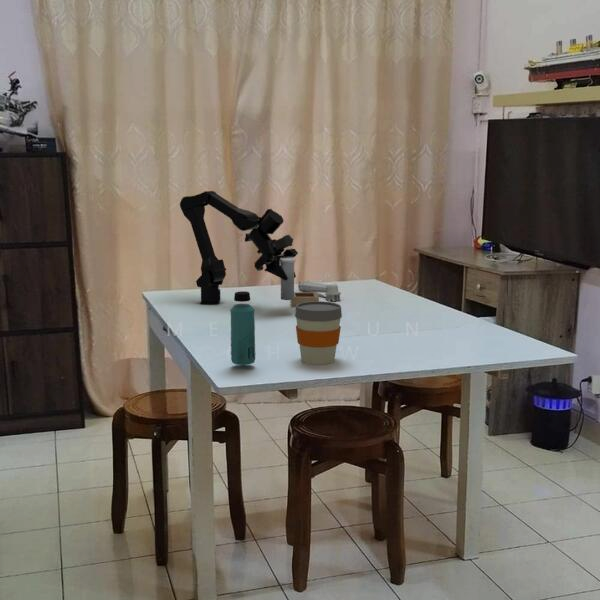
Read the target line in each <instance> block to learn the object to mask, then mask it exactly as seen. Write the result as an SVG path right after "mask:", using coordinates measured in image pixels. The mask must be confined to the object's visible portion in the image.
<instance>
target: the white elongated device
mask: <svg viewBox="0 0 600 600" xmlns="http://www.w3.org/2000/svg"><path fill="white" fill-rule="evenodd" d="M297 285H298V286H297V287H298V290H299V291H300V290H301V291H300V292H317V293H322V294H323V293H324V295H325V296H326V301H327V300H328V301H327V302H330V301H332V302H333V301H340V300H341V292H340V291H339V286H338V285H337V284H325V283H319V282H313V281H310V280H304V281H300V282H299V283H298V284H297Z"/></svg>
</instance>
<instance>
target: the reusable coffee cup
mask: <svg viewBox="0 0 600 600" xmlns="http://www.w3.org/2000/svg"><path fill="white" fill-rule="evenodd" d="M342 316H343V314H342V306H341V304H339V303H336V302H333V301H332V302H330V301H320V300H319V301H314V302H304V303H299V304H297V305H296V308H295V313H294V317H295V319H296V325H295V330H296V331H295V332H296V340H297V341H296V342H297V343H298V345H299V350H300V351H299V352H300V358H301V362H302V363H304V364H307V365H313V366H314V365H315V366H325V365H329V364H333V363H334V362H335V360H336V359H335V358H336V353H337V346H338V344H339V342H340V337H341V336H340V334H341V328H342V327H341V325H340V323H341V319H342Z"/></svg>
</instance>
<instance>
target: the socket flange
mask: <svg viewBox="0 0 600 600" xmlns="http://www.w3.org/2000/svg"><path fill="white" fill-rule="evenodd" d="M318 294H319V293H318V292H304V291H299V292H297V291H296V292H295V291H294V299H293V300H289V303H291V304H290V308H291V307H296V305H297V304H299V303H304V302H314V301H320V300H319V299H320V298H319V297H320V296H319V295H318Z"/></svg>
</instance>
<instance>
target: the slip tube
mask: <svg viewBox="0 0 600 600" xmlns="http://www.w3.org/2000/svg"><path fill="white" fill-rule="evenodd" d="M280 262H281V268H282V269H283V271H284V272H285V274H286V276H287V277H288V279H287V280H284V279H282V278H280V300H281V301H282V300H283V301H290V300H293V299H294V292H295V278H294V272H295V262H296V256H295V257H280Z"/></svg>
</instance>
